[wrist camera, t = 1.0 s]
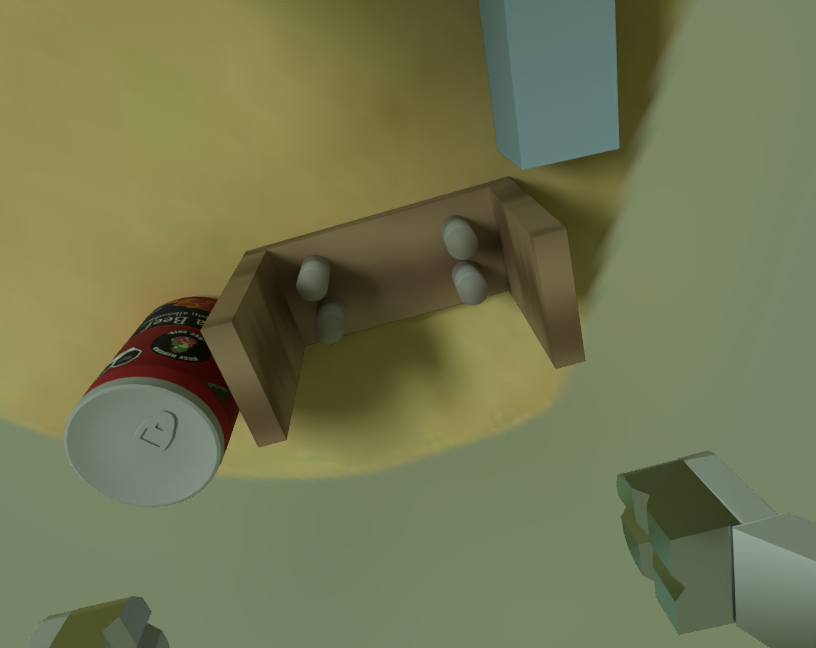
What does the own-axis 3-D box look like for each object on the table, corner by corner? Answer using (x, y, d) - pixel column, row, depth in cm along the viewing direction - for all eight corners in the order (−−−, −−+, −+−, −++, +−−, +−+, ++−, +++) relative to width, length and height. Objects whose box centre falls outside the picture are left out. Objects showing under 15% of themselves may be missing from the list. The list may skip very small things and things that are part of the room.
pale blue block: (466, -89, 28) (490, -120, 23) (563, -111, 28) (610, -149, 23) (497, 150, 34) (522, 170, 28) (578, 132, 34) (619, 148, 28)
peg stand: (246, 251, 35) (200, 330, 25) (508, 176, 34) (566, 228, 24) (285, 344, 38) (258, 447, 28) (527, 278, 37) (585, 361, 28)
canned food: (271, 311, 37) (237, 406, 27) (242, 406, 40) (203, 522, 30) (152, 276, 36) (71, 364, 26) (132, 378, 39) (53, 491, 29)
